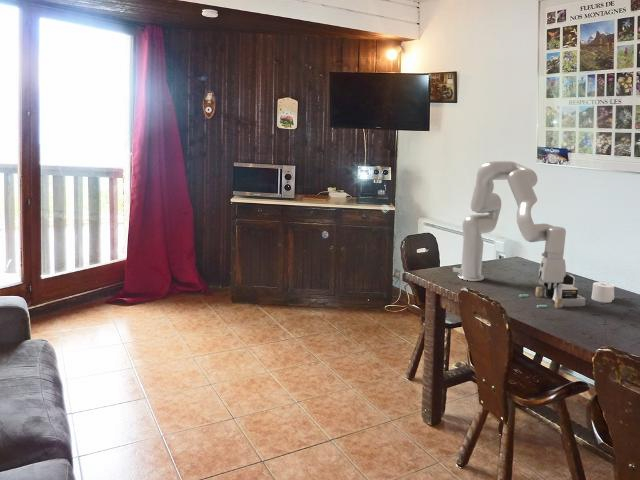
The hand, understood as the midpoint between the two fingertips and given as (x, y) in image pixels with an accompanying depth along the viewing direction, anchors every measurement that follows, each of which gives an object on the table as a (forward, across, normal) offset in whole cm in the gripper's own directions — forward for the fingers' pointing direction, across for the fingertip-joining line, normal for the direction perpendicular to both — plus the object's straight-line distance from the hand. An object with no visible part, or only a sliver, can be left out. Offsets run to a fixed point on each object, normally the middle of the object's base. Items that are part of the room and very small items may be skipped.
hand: (549, 297), depth 239 cm
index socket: (+2, +7, 0) cm, 7 cm away
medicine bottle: (+2, +6, -1) cm, 7 cm away
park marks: (+2, -7, 0) cm, 8 cm away
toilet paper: (+2, +28, +2) cm, 28 cm away
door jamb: (+2, 0, 0) cm, 2 cm away
